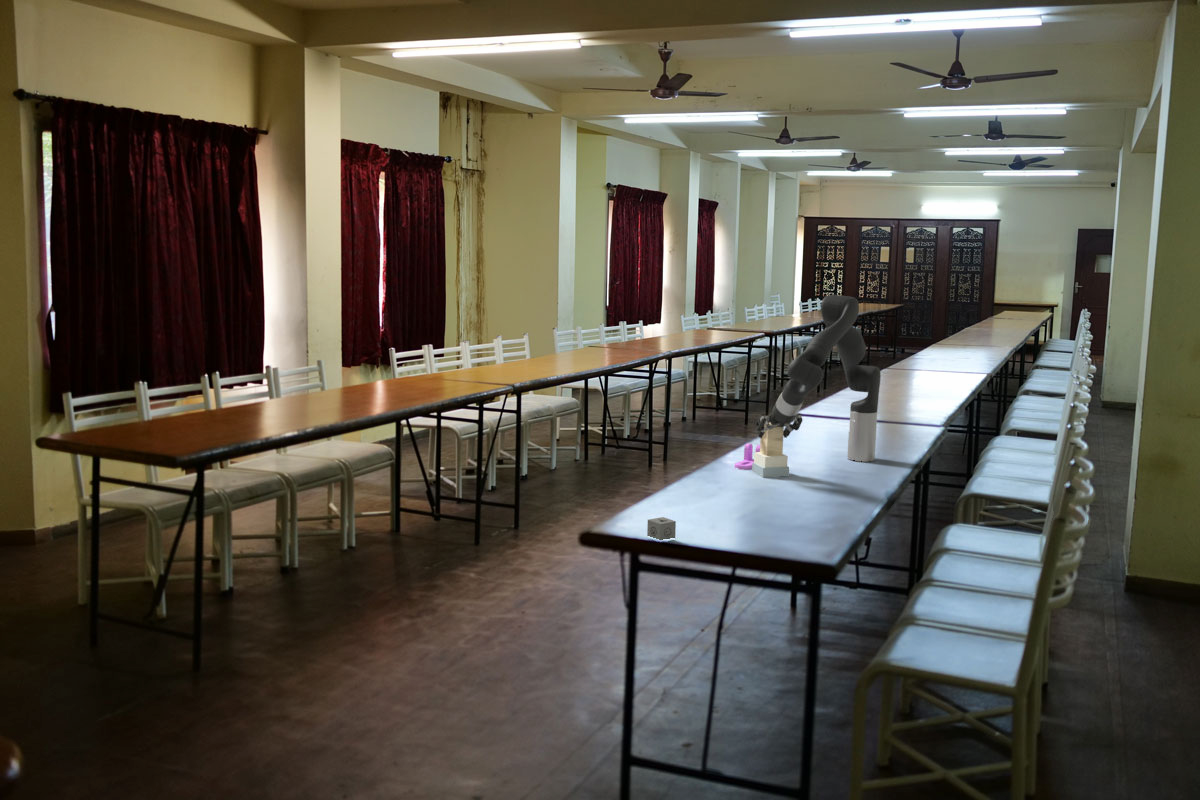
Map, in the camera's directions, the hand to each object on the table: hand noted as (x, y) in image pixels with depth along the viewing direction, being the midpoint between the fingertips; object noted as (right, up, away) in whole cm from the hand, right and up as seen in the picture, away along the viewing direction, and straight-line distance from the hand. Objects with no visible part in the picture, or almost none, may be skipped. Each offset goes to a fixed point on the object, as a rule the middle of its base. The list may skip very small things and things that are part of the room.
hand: (772, 435), depth 340 cm
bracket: (-6, -11, +16) cm, 20 cm away
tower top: (0, -10, +3) cm, 10 cm away
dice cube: (-40, -24, -76) cm, 90 cm away
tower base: (0, -13, +4) cm, 14 cm away
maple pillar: (0, -6, +3) cm, 7 cm away
